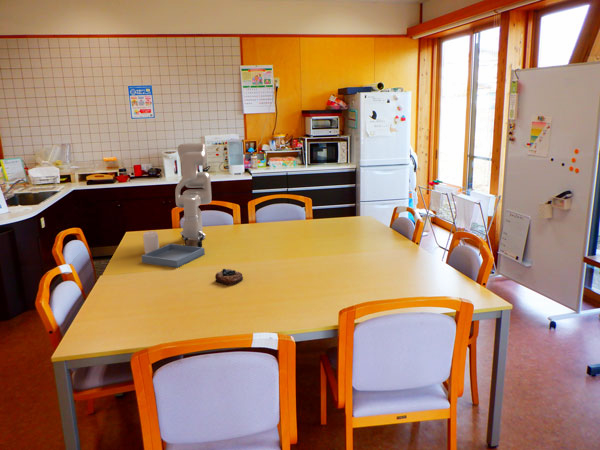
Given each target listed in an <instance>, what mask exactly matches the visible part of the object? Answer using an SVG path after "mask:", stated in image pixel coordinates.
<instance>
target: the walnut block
mask: <svg viewBox="0 0 600 450" xmlns="http://www.w3.org/2000/svg"><path fill="white" fill-rule="evenodd" d="M198 242H199V241H198V240H197V239H194V238H191V239H188V240H186V246H193V247H198Z"/></svg>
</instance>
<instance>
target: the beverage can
mask: <svg viewBox="0 0 600 450" xmlns="http://www.w3.org/2000/svg"><path fill="white" fill-rule="evenodd" d="M142 238H143V247H144V253H145V254H147V253H149V252H151V251H154V250H156V249H159V248H160V243H159V242H160V241H159V234H158V232H157V231H155V230H154V231H153V230H151V231H145V232H144V233H143V235H142Z"/></svg>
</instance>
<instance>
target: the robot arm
mask: <svg viewBox="0 0 600 450" xmlns="http://www.w3.org/2000/svg"><path fill="white" fill-rule="evenodd" d="M207 151H208V150H207V145H206V144H205V143H202V142H198V143H196V142H193V143H192V142H191V143H190V142H189V143H182V144H178V146H177V154H178V156H179V159H180V161H181V176H182V177H181V179H180V180H179V182H178V183H177V185H176V187H175V190H174V191H175V192H174V193H175V204H176V207H177V208H179V209H180V208H181V209H182V208H183V212H184V213H183V214H184V215H183V219H184V220H183V223H182V224H183V225H182V231H180V233H179V234H180V235H181V237H182V239H183V240H184V245H186V240H188V239H191V238H194V239H197V240H198V241H199V242H198V247H201V248H203V240H204V239H206V234H205V233H204V231H203V219H202V211H201V209H200V208H199V206H200V205H208V204H211V202H212V198H213V197H212V185H211V184H212V183H211V177H210V173H208V172H207V171H198V170H199V169H198V166H199V167H200V166H205V165H206V164H207V155H208V154H207ZM184 187H186V188H188V189H186V190H185V191H183V192H182V194H181V190H182V189H183V188H184ZM189 188H193V189H189ZM194 188H195V189H194Z"/></svg>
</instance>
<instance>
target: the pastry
mask: <svg viewBox="0 0 600 450" xmlns="http://www.w3.org/2000/svg"><path fill="white" fill-rule="evenodd" d="M214 279H215V280H214V281H215V283H219V284H221V285H224V286H233V285H236V284H238V283H240V282H242V281H243V280H244V277H243V273H242V272H241V271H236V270H234V269H230V268H228V269H226V268H223V269H222V270H221V271H217V272H216V273H215V277H214Z"/></svg>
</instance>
